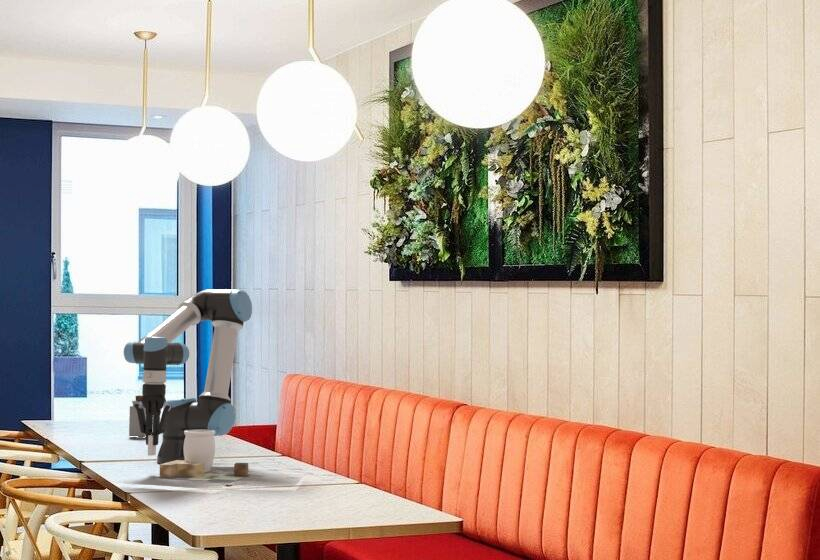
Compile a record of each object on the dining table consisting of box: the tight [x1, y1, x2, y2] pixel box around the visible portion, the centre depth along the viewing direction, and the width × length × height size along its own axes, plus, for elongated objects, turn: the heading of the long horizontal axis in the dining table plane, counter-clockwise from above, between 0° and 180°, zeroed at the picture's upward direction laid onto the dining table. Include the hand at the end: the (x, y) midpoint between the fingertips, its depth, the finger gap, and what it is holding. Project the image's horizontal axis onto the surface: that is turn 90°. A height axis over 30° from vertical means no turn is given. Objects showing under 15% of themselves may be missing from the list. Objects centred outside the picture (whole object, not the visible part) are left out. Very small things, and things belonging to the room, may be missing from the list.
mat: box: [153, 471, 253, 488], centre depth 363 cm, size 27×18×1 cm, turn 74°
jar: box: [184, 429, 216, 472], centre depth 378 cm, size 11×10×15 cm
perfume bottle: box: [128, 394, 146, 437], centre depth 484 cm, size 7×7×18 cm
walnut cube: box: [233, 462, 249, 478], centre depth 367 cm, size 4×4×4 cm
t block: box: [159, 460, 205, 478], centre depth 365 cm, size 12×12×4 cm
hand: (151, 455), depth 368 cm, fingers closed
